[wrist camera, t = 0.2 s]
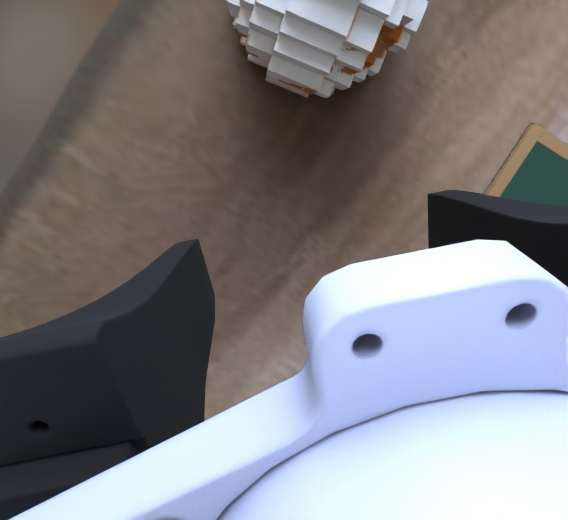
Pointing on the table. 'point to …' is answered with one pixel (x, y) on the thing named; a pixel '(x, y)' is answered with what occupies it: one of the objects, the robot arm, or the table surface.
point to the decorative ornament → (323, 39)
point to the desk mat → (534, 170)
